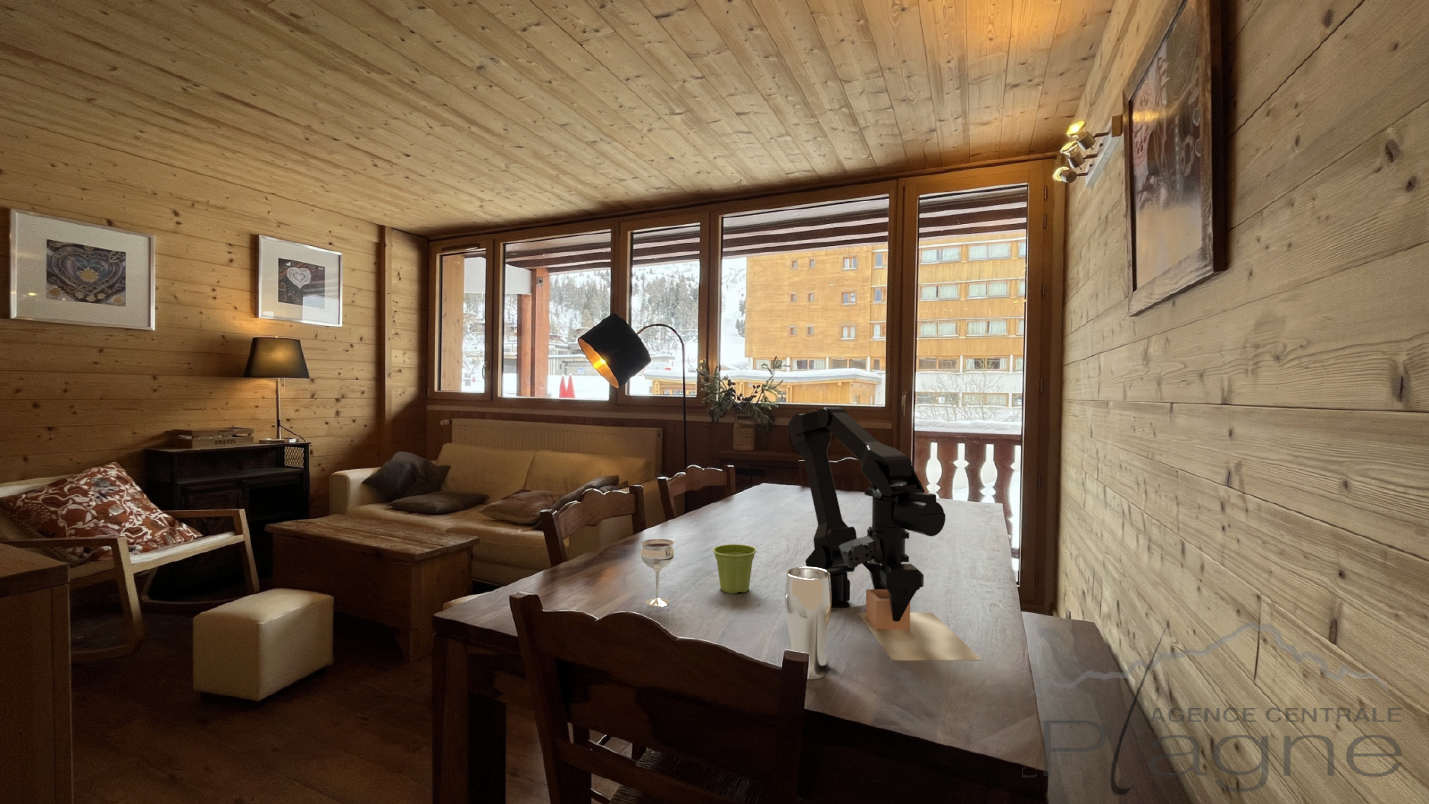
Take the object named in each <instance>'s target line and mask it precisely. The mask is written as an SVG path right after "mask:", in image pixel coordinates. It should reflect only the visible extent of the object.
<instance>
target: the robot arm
mask: <svg viewBox="0 0 1429 804" xmlns="http://www.w3.org/2000/svg"><path fill="white" fill-rule="evenodd" d="M788 432H789V435H790V439H791V442H792V445H793V446H794V448H795V449H796V450H797V451H798V452H799V454H800V455H801V456H802V457H803V461H804V465H805V469H806V470H805V471H806V474H807V479H808V483H809V489H810V493H811V498H812V502H813V506H814V507H813V508H814V511H815V516H816V521H817V522H816V523H817V528H816V530H815V534H814V536H813V549H814V550H813V551H812V552H811V553H810V554H809V555H808V557H807V558H806V559H805V567H815V568H820V569H824V570H826V571H828V572H829V573H830V583H831V608H833V607H834V608H835V607H836V608H838V607H839V608H840V607H842V608H843V607H845V608H847V607H850V606H851V605H850V602H849V601H850V600H851V580H850V579H849V577H848V573H854V572H855V569H856V567H858V566H860V565H861V564H862V565H863V567H865V568H866V569H867V570H868V571H869V575H870V578H871V582H872V588H873V589H887V590H888V592H889V599H890V607H891V614H892V619H893V621H895V622H897V621H900V619H901V617H902V616H903V614H904V612H905V610H906V608H907V606H908V604H909V603H910V604H911V600H912V599H913V597H914V596H915V594H916V593H917V591H919V590H920V589H921V588H923V587H924V583H925V582H924V580H925V578H924V577H925V575H924V574H923V573H922V572H921V571H920V570H919V569H918V568H917V567H916V566H915V565H914V564H912V563H909V562H910V557H909V555H908V554H906V540H907V539H908V540H909V539H910V532H913V533H916V534H917V533H918V534H921V535H924V536H927V537H935V536H937V535H938V534H940V533H941V532H942V530H943V528H944V526H945V523H946V513H945V511H944V508H943V506H942V505H941V504H940V502H937V494H936V493H926V492H925V491H926V490H925V488H924V487H923V485H922V482H921V481H920V478H919V476H918V474H917V472H916V471H915V469H914V467H913V462H912V459H911V458H910V457H909V456H908V455H907V454H905V453H904V452H902V451H900V450H898V449H896V448H895V447H892V446H889V445H886V444H883V443H881V442H880V441H878V440H877V439H876V438H875V437H874V436H872V434H871V433H870V432H868V431H867V430H866V429H865V428H864V427H863V426H862V425H860V424H859V423H858V422H857V421H856V420H855V419H854V418H852V417H851V416H850V415H849V414H848V411H847V410H846V409H845V408H842V407H840V406H839V407H838V406H837V407H830V406H829V407H823V408H821V409H818V410H816V411H811V412H808V413H796V414H794V415H793V416H792V418H791V419H790V420H789V423H788ZM832 435H833V436H834V437H835V438H836V439H837V440H838V441H839V442H841V444H843V446H844V447H845V448H847V450H848V451H850V452H851V453H852V454H853V455H854V456H855V458H857V459H858V460H859V462H860V471H861V472H862V473H863V474H864V476H865V478H866V479H867V480H868V481H869V483H870V484H871V486H869V488H866V489H865V491H864V493H863V494H864V495H865V496H868V497H871V498H872V499H871V500H872V501H871V502H872V503H871V504H872V509H871V510H872V512H871V513H872V514H871V515H872V516H871V517H872V518H871V522H872V523H871V526H868V528H867V530H866V532H867V533H866V535H865V536H861V537H857V530H856V529H855V527H854V526H848V525H847V524H846V522H845V521H844V519H843V517H842V512H841V507H840V504H839V499H838V496H837V495H838V494H837V490H836V486H835V482H834V479H833V472H832V469H831V463H830V460H829V456H828V449H829V447H830V444H831V441H832ZM908 531H909V532H908Z"/></svg>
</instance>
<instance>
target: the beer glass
mask: <svg viewBox="0 0 1429 804" xmlns="http://www.w3.org/2000/svg"><path fill="white" fill-rule="evenodd" d="M784 597H785V598H784V601H785V602H784V603H785V604H784V605H785V607H784V609H785V617H786V623H787V629H788V636H789V647H790V648H789V651H790V650H794V651H798V652H807V653H809V656H810V665H809V679H808V680H819V679H822V678H824V677H826V675H827V674H828V672H829V670H828V669H829V668H828V665H827V662H828V661H827V658H826V643H827V635H828V631H829V625H830V622H831V621H830V620H831V614H832V613H831V612H832V607H831V583H830V573H829V572H828V571H826V570H824V569H820V568H815V567H806V566H796V567H791V568H789V569H787V571H786V582H785V595H784Z"/></svg>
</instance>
